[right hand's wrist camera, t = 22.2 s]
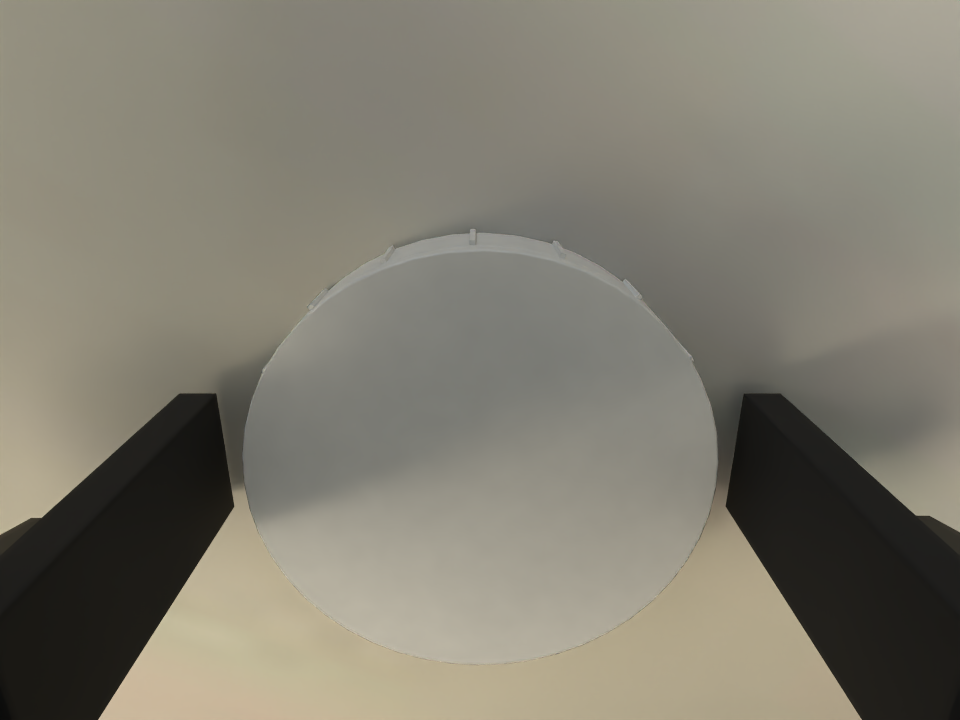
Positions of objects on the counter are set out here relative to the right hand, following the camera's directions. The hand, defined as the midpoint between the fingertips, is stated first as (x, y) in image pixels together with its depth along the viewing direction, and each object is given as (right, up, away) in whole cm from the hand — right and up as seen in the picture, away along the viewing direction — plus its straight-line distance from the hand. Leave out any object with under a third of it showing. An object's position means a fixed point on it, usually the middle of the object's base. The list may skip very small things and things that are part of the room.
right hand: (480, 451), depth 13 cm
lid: (0, 0, -1) cm, 1 cm away
